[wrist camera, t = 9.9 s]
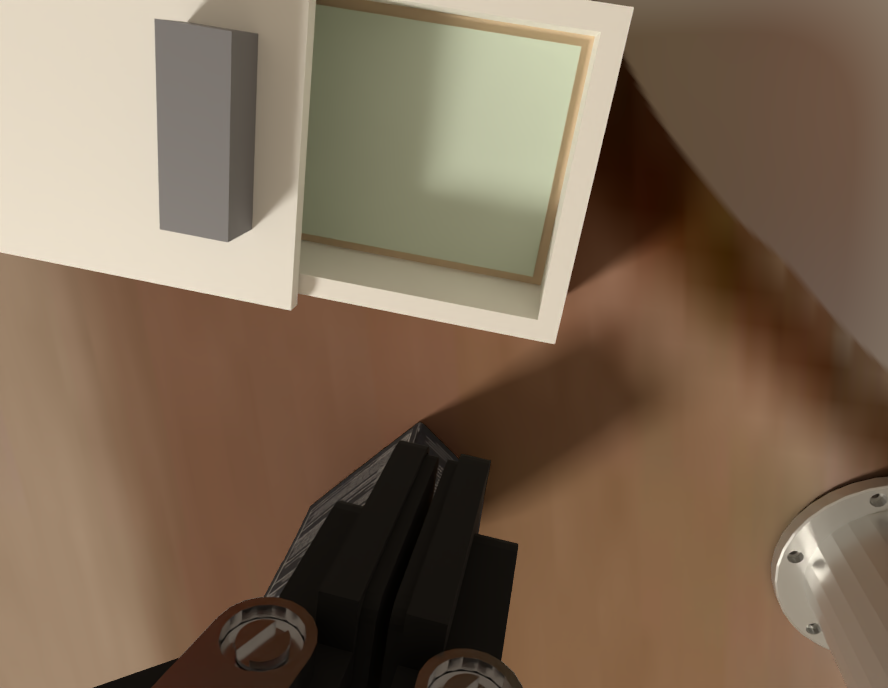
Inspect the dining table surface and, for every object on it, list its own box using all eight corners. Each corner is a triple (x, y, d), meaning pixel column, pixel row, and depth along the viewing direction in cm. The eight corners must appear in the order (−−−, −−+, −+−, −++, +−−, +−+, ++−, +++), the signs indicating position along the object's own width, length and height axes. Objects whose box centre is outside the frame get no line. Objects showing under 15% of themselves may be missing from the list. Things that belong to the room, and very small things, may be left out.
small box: (376, 569, 46) (328, 704, 36) (307, 505, 45) (238, 627, 35) (492, 489, 42) (473, 617, 32) (420, 417, 41) (377, 527, 31)
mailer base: (620, 16, 31) (634, 7, 25) (555, 301, 36) (554, 344, 31) (205, -48, 32) (133, -70, 27) (204, 234, 38) (145, 263, 33)
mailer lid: (340, -47, 28) (289, -72, 23) (315, 287, 34) (270, 329, 29) (-124, -118, 30) (-272, -156, 25) (-70, 211, 36) (-179, 237, 31)
